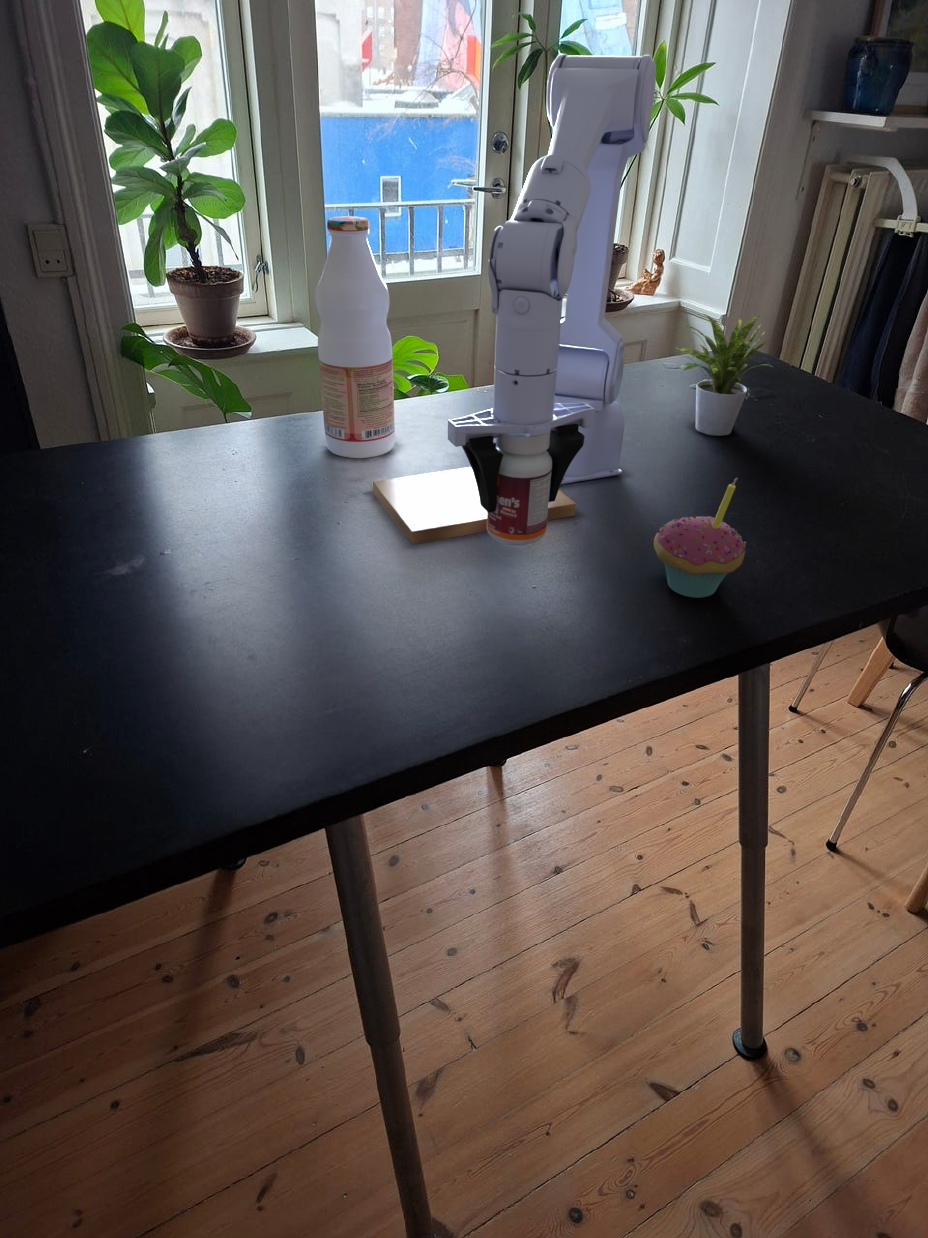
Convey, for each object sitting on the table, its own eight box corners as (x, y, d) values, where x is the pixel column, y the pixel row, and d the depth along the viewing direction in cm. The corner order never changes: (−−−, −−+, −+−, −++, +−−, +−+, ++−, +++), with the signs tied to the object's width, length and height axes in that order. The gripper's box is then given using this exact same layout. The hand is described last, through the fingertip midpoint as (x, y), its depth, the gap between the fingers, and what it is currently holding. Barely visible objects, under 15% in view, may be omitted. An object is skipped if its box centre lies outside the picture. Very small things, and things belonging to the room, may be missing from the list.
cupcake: (737, 573, 82) (764, 463, 76) (732, 616, 76) (760, 500, 69) (653, 559, 85) (671, 451, 78) (641, 599, 78) (660, 484, 71)
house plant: (687, 403, 127) (706, 294, 118) (775, 422, 120) (802, 308, 111) (649, 428, 117) (666, 311, 108) (741, 451, 110) (768, 328, 101)
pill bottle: (474, 534, 82) (477, 427, 76) (510, 514, 86) (516, 411, 80) (522, 553, 79) (529, 444, 73) (558, 532, 83) (567, 426, 77)
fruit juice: (316, 456, 106) (295, 221, 91) (338, 431, 114) (322, 211, 98) (385, 462, 105) (375, 225, 89) (402, 437, 112) (397, 214, 97)
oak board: (521, 470, 104) (522, 458, 103) (575, 515, 93) (576, 503, 92) (372, 493, 97) (372, 481, 96) (412, 545, 86) (411, 531, 85)
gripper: (469, 388, 68) (466, 532, 75) (617, 371, 73) (600, 507, 80) (439, 365, 73) (439, 501, 81) (578, 350, 78) (566, 480, 85)
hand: (517, 502), depth 81 cm, fingers closed on pill bottle, 6 cm apart
